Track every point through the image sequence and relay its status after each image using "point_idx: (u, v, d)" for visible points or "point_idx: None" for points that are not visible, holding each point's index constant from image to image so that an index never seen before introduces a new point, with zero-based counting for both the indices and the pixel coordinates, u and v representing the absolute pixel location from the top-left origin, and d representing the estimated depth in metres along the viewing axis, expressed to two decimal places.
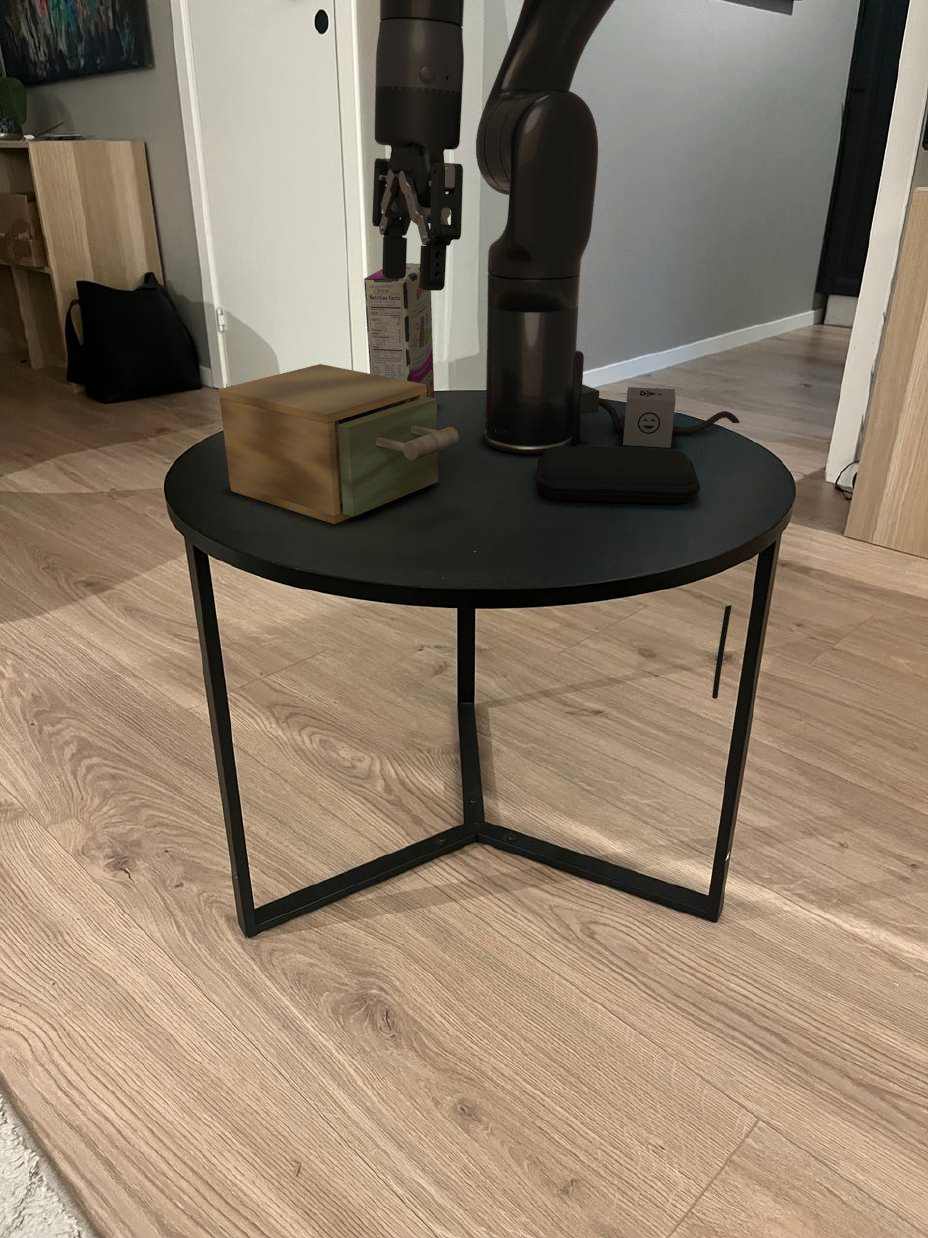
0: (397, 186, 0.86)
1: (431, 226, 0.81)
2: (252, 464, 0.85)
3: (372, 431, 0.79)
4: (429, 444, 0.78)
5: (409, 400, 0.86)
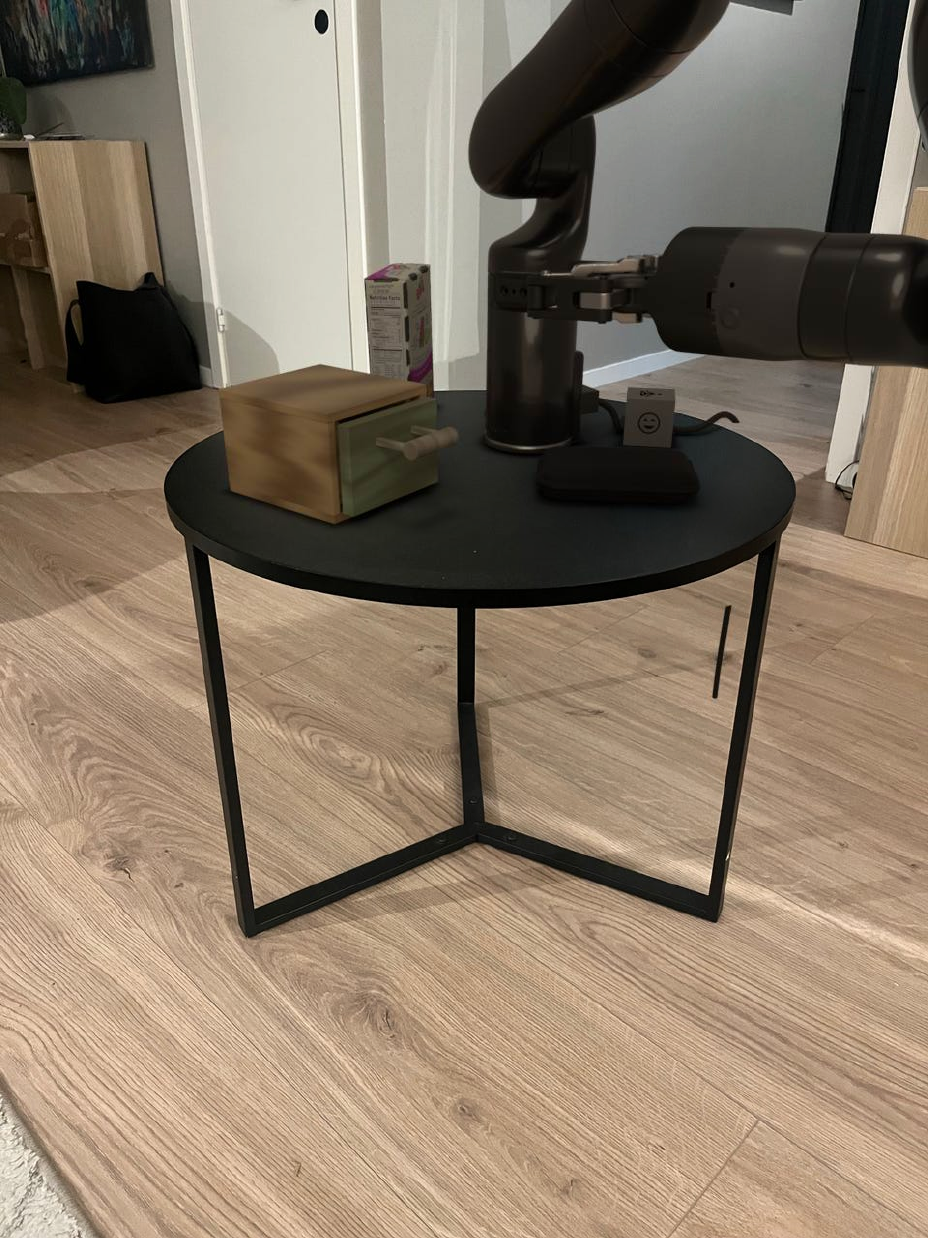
0: None
1: None
2: (252, 464, 0.85)
3: (372, 431, 0.79)
4: (429, 444, 0.78)
5: (409, 400, 0.86)
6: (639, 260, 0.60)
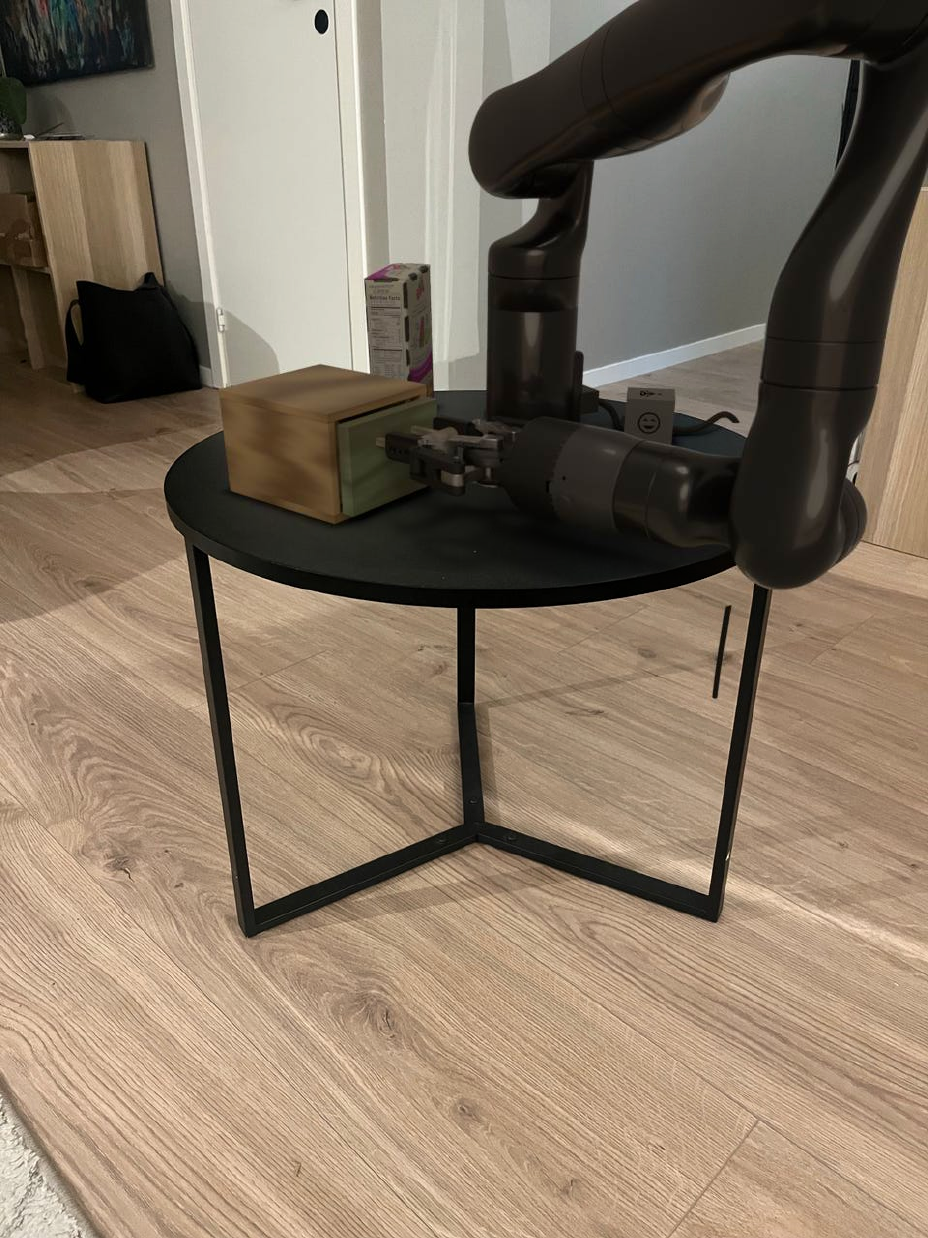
0: None
1: None
2: (252, 464, 0.85)
3: (372, 431, 0.79)
4: None
5: (409, 400, 0.86)
6: (495, 440, 0.73)
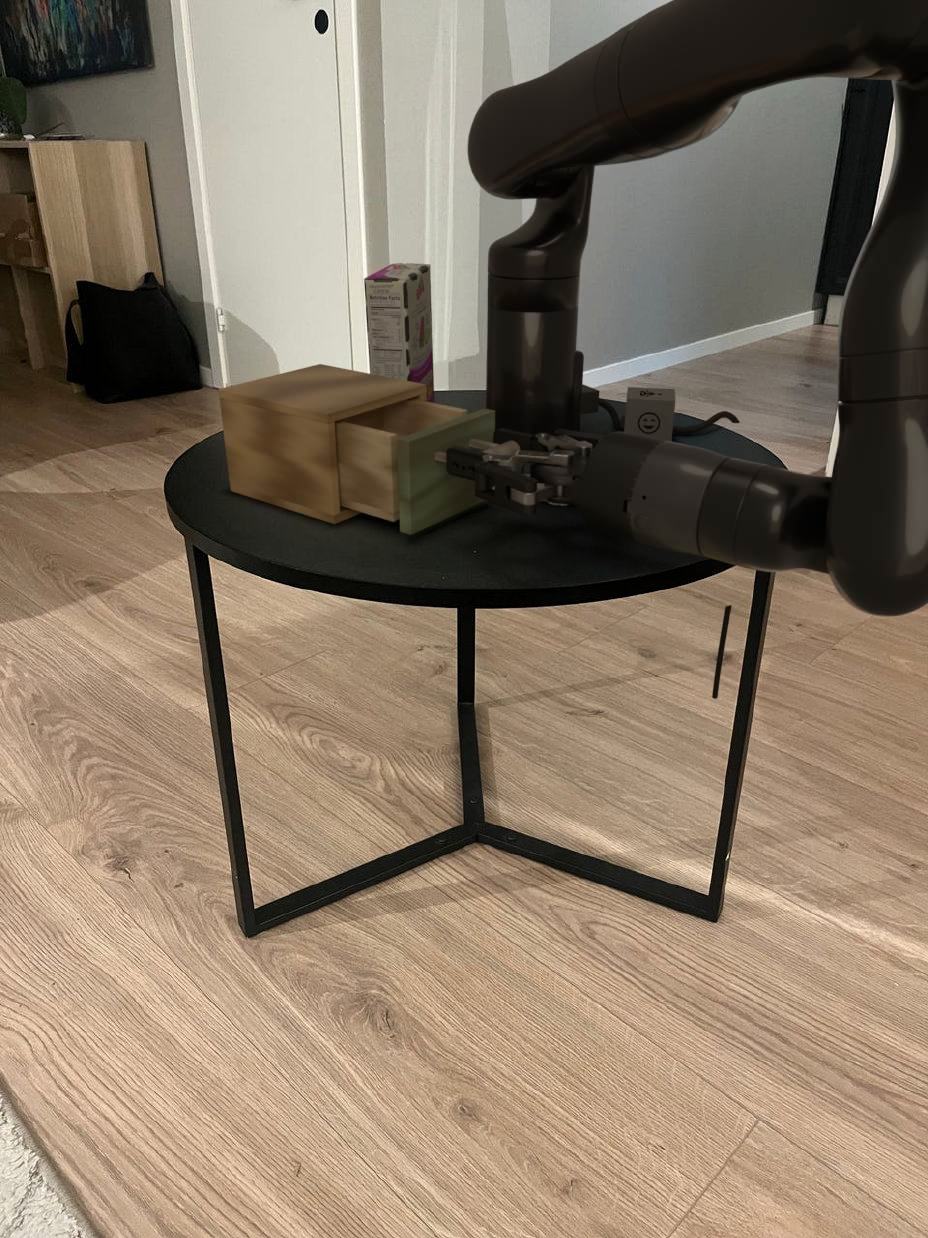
0: None
1: None
2: (252, 464, 0.85)
3: (432, 445, 0.76)
4: None
5: (465, 412, 0.82)
6: (566, 456, 0.70)
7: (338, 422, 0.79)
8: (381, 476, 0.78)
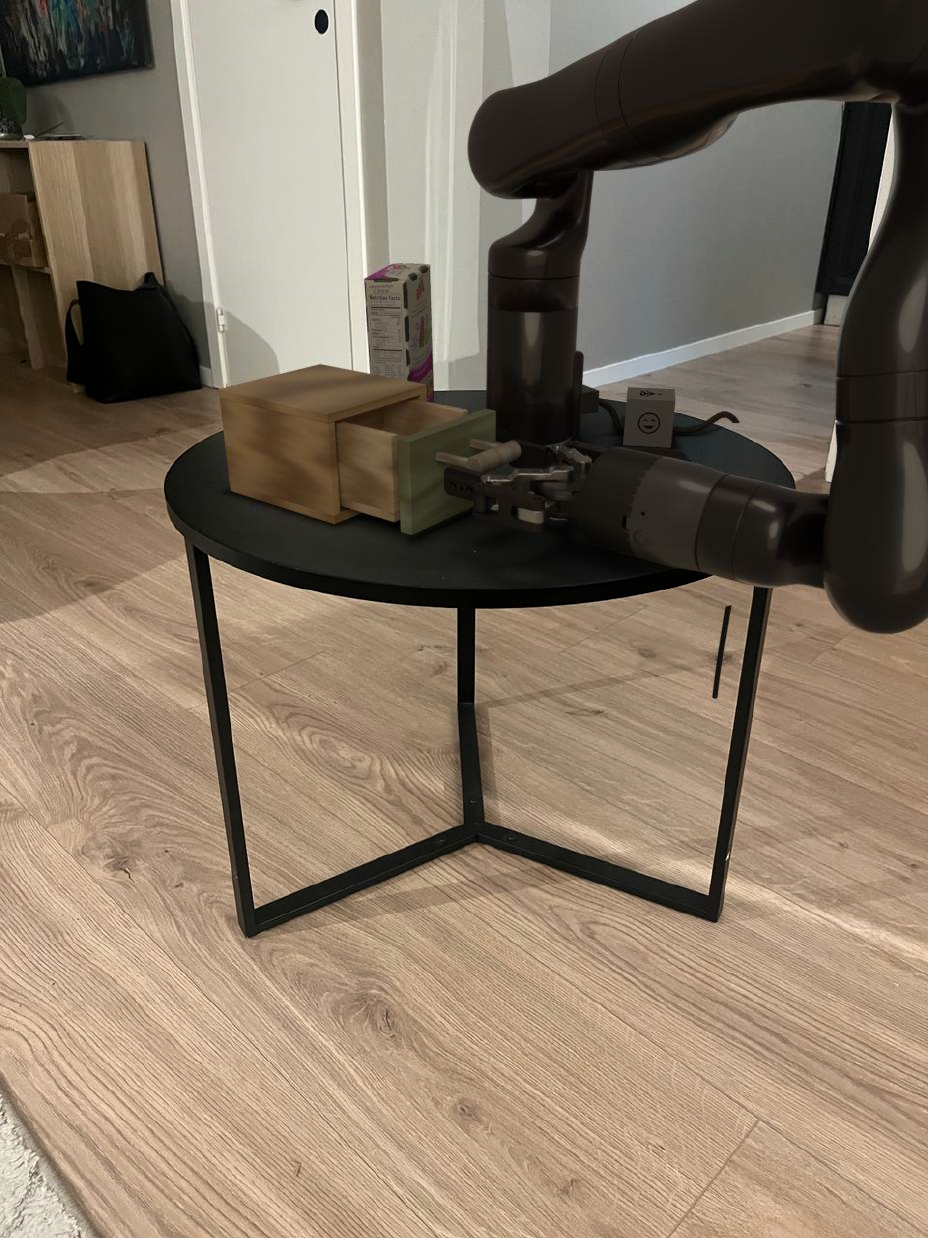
0: None
1: None
2: (252, 464, 0.85)
3: (432, 445, 0.76)
4: (493, 460, 0.75)
5: (466, 412, 0.82)
6: (568, 472, 0.70)
7: (339, 422, 0.79)
8: (382, 477, 0.78)
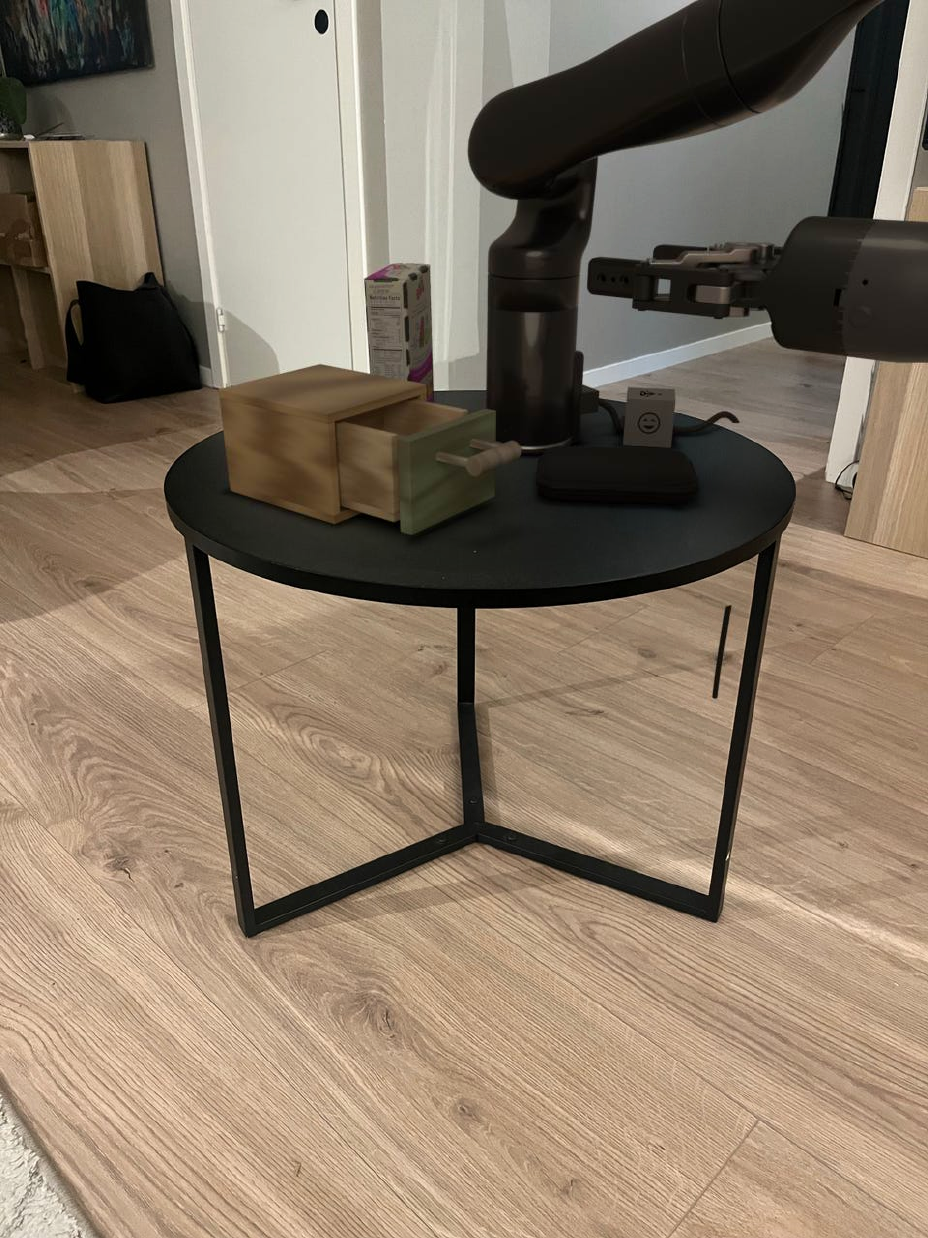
0: None
1: None
2: (252, 464, 0.85)
3: (432, 445, 0.76)
4: (493, 460, 0.75)
5: (466, 412, 0.82)
6: (752, 250, 0.56)
7: (339, 422, 0.79)
8: (382, 477, 0.78)
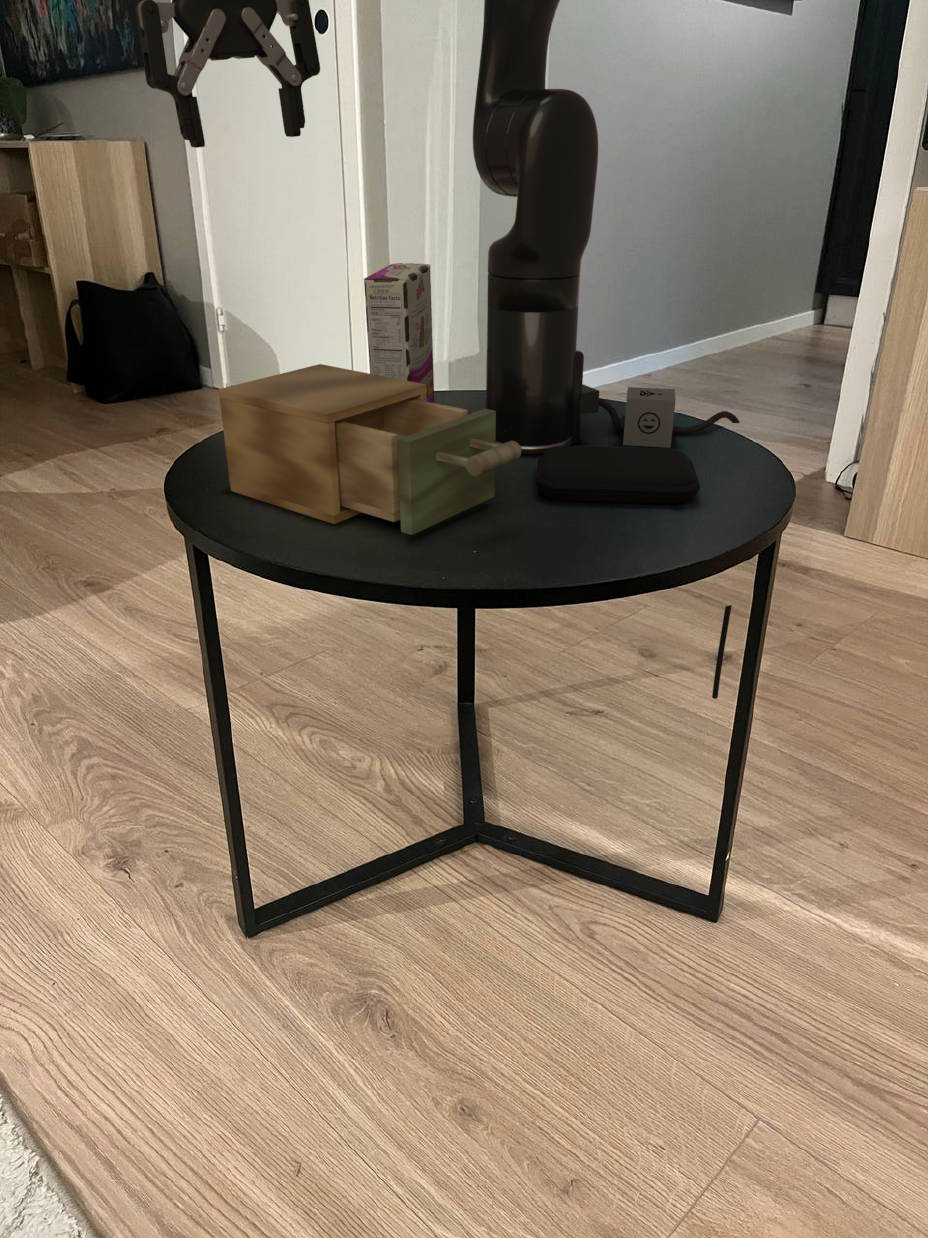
0: None
1: (309, 62, 0.80)
2: (252, 464, 0.85)
3: (432, 445, 0.76)
4: (493, 460, 0.75)
5: (466, 412, 0.82)
6: None
7: (339, 422, 0.79)
8: (382, 477, 0.78)
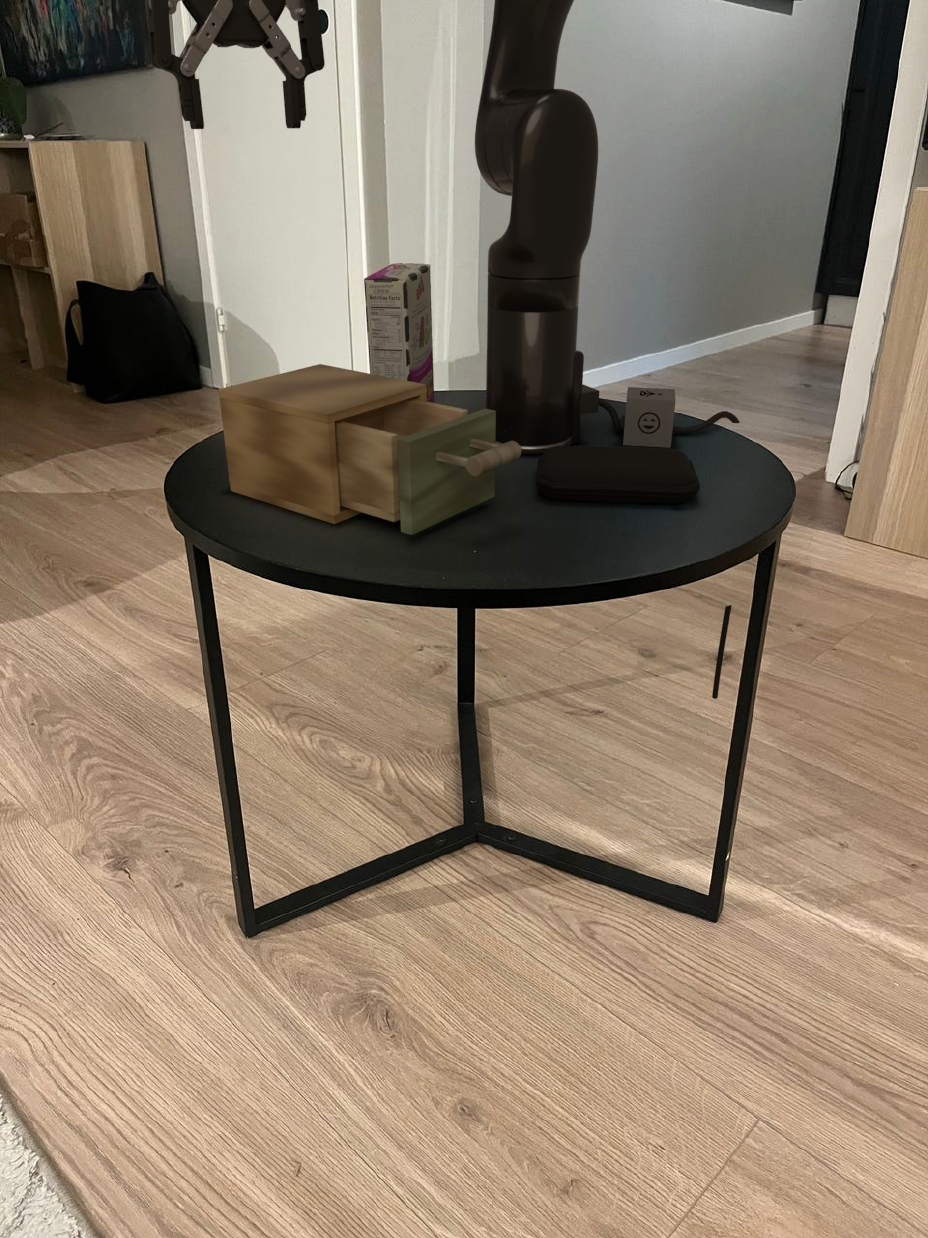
0: None
1: (314, 57, 0.82)
2: (252, 464, 0.85)
3: (432, 445, 0.76)
4: (493, 460, 0.75)
5: (466, 412, 0.82)
6: None
7: (339, 422, 0.79)
8: (382, 477, 0.78)
